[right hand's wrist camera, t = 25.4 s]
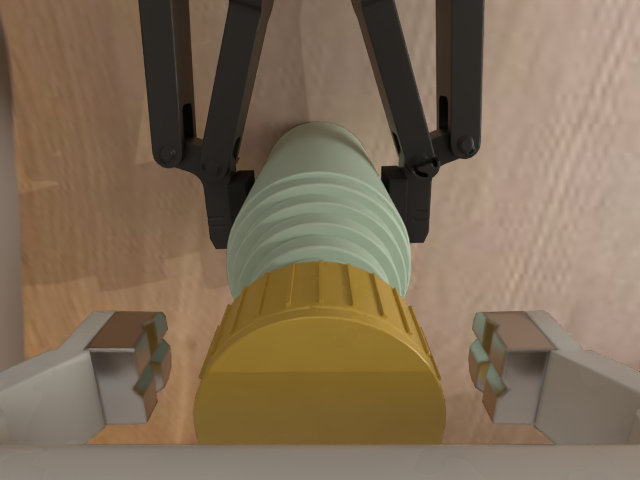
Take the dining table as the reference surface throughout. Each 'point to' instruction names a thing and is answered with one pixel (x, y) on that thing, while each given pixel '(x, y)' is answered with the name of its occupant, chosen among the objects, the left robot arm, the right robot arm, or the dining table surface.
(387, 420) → the cap
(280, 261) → the bottle
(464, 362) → the dining table surface
